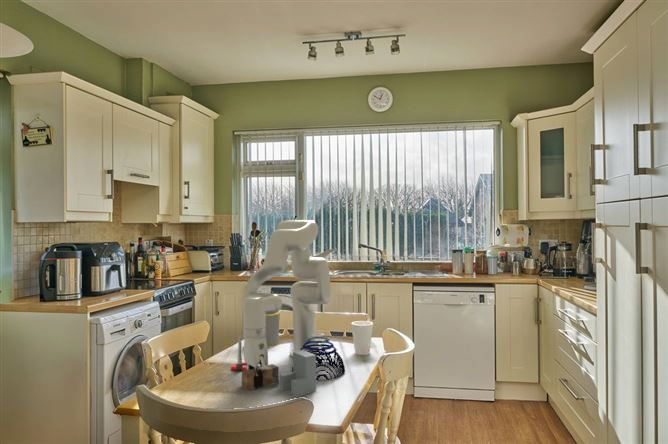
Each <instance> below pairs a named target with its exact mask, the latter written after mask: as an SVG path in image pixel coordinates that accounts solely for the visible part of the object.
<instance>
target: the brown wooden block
mask: <svg viewBox="0 0 668 444" xmlns="http://www.w3.org/2000/svg"><path fill="white" fill-rule="evenodd" d="M259 369H260V368H257V371H258V370H259ZM254 376H255V370H254V369H249V370H245V371H241V388H243V389H245V390H246V391H250V390H251V391H252V390H254V389H256V388H254ZM274 384H280V374H279V366H278V365H275V364H273V363H272V364H268V365H267V366H266V370H265V371H264V375H263V386H262V387H266V386H270V385H274ZM262 387H261V388H262ZM258 388H260V387H258Z"/></svg>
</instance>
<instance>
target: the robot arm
mask: <svg viewBox="0 0 668 444" xmlns="http://www.w3.org/2000/svg"><path fill="white" fill-rule="evenodd" d="M318 235H319V226H318V223H317V222H316V221H315V220H312V219H298V220H297V219H288V220H282V221H280V222H278V223H277V227H276V230H274V231H273V232H272V233H271V234H270V237H269V240H268V245H267V249H266V252H265V257H264V261H263V264H261V266H260V267H259V268H258V269H257V270H256V271H255V272H254V273H253V274H252V276H250V278H249V279H248V281H247V282H246V285H245V289H244V292H243V297H242V308H243V338H244V341H243V342H244V343H243V361H244V362H245V363H246V365H245V367H246V366H247V370H249V369H254V370H255V376H254V388H255V389H257V388H258V387H259V388H262V386H263V375H264V371H265V370H266V366H267V365H269V354H268V353H269V352H268V351H269V350H268V347H267V342H266V337H265V336H266V315H272V314H276V313H277V312H280V310H281V309H282V307H283V301H282V298H281V296H280V295H279V294H278V293H277V294H276V293H271V292H270V293H268V292H267V293H266V292H258V291H259V288H260V287H261V286H262V285H263V284H264V283H265V282H266V281H268V280H270V279H272V278H274V277H277V276H278V275H281V274H283V272H285V271H286V267H287V263H288V258H289V254H290V262H291V270H292V276H293V277H294V278H295V279H298V280H301V281H296V282H294V283H293V284H292V285H291V287H290V297H291V301H292V302H291V304H292V315H293V316H292V317H293V318H292V321H293V322H292V323H293V324H292V325H293V326H292V327H293V330H292V331H293V349H291V350H290V352H289V355H290V357H291V358H293V352H295V351H300V349H301V348H302V347H303V345H304V344H305V343H306V342H307V340H308V339H309V338H313V337H316V336H312V334H313V333H316V312H315V309H314V308H313V306H312V305H327V304H328V303H329V302H330V300H331V297H332V292H331V291H332V288H331V278H330V274H331V273H330V267H329V266H330V265H329V262H328V261H327V259H325V258H324V257H320V256H319V257H317V256H314V257H313V256H312V254H311V247H310V246H311V245H312V243H313V242H314V241H315V240H316V239H317V238H318ZM307 280H311V281H307ZM312 280H315V281H312ZM311 340H312V341H316V338H315V339H311ZM312 344H316V343H310V344H306V346H307V345H312ZM317 344H325V343H317ZM311 347H315V348H321V347H325V346H311ZM302 350H304V351H309V350H307V349H305V348H304V349H302ZM313 351H315V350H313ZM316 351H317V350H316ZM310 352H311V351H310ZM314 353H319V352H314ZM257 368H260V369H259V370H258V371H257ZM263 387H264V386H263Z"/></svg>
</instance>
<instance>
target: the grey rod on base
mask: <svg viewBox="0 0 668 444" xmlns="http://www.w3.org/2000/svg"><path fill="white" fill-rule="evenodd" d="M242 346H243V345H242V336H239V337H238V345H237V347H238V348H237V353H238V354H237V363H233V364H232V366H231V367H230V371H239V372H242V371H245V370H247V366H246V363H245V361H244V362H243V357H242Z"/></svg>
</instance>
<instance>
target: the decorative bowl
mask: <svg viewBox="0 0 668 444" xmlns="http://www.w3.org/2000/svg"><path fill="white" fill-rule="evenodd" d="M312 336H315V337H313V338H309V339H308V340H307V342H306V343H305V344H304V345H303V347H302V348H301V349H300V350H302V349H304V348H305V349H307V350H309V351H307V352H309V353H312V354H315V355H316V369H318V368H320V367H323V368H326V369H328V370H326V369H318V370H316V382H317V381H318V382H319V381H323V379H324V380H325V381H331V380H335V379H338V378H340V377H342V376H344V375H345V373H346V368H345V363H344V361H343V358H342V357H341V354H339V352H337V351H338V350H337V348H336V347H335V345H334V343H332V342H330V339H328V337H325V333H323V332H315V333H313V334H312ZM311 339H315V341H312V340H311ZM316 339H323V340H316ZM310 343H316V344H312V345H307V346H306V344H310ZM317 343H324V344H317ZM311 346H324V347H321V348H315V347H311ZM330 349H332V350H331V351H328V350H330ZM313 350H315V351H313ZM316 350H317V351H316ZM310 351H311V352H310ZM314 352H319V353H314ZM331 354H333V358H332V355H331ZM330 367H331V368H332V369H331V368H330ZM329 371H330V372H329ZM291 372H293V366H291ZM320 372H321V373H320ZM322 372H325V373H322ZM318 373H319V374H318ZM322 377H323V379H321V378H322Z"/></svg>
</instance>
